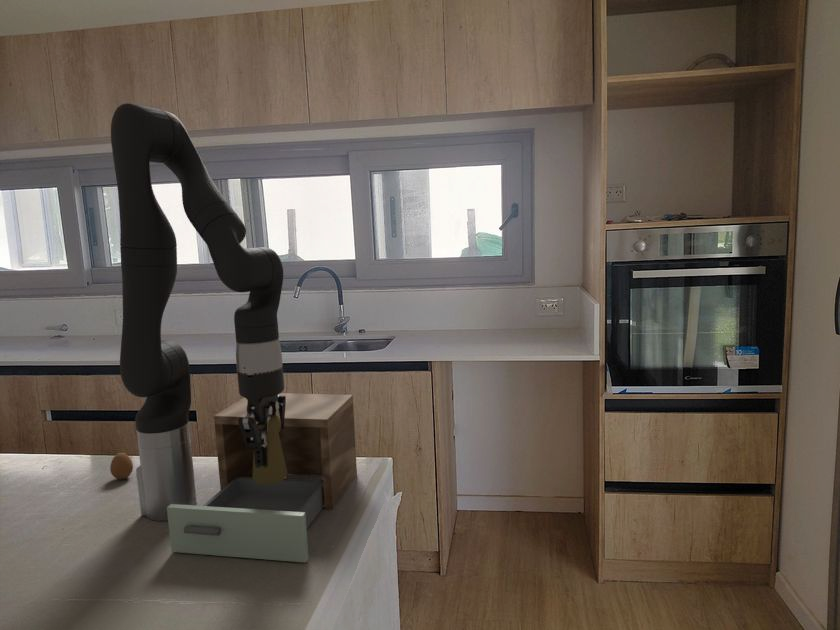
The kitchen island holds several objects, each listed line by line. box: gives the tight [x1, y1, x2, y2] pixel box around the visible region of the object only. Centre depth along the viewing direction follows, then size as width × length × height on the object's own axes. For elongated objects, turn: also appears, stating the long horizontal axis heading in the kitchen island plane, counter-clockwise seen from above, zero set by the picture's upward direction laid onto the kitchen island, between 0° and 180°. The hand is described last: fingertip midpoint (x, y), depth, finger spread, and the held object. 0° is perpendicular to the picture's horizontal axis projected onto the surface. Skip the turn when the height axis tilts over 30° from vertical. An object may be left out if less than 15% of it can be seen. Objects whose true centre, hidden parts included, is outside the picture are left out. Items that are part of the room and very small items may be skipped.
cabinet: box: [213, 392, 358, 511], centre depth 121 cm, size 23×16×18 cm
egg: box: [109, 452, 134, 480], centre depth 129 cm, size 4×4×6 cm
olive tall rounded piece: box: [252, 415, 289, 484], centre depth 102 cm, size 6×6×11 cm
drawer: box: [167, 477, 325, 563], centre depth 106 cm, size 24×22×8 cm
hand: (267, 461), depth 102 cm, fingers closed on olive tall rounded piece, 4 cm apart
